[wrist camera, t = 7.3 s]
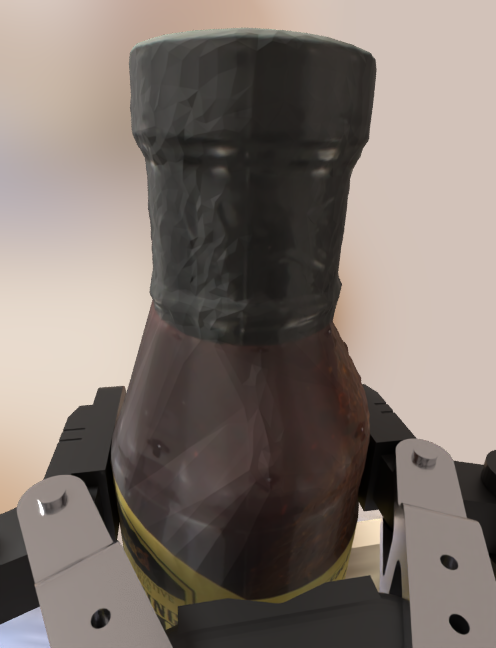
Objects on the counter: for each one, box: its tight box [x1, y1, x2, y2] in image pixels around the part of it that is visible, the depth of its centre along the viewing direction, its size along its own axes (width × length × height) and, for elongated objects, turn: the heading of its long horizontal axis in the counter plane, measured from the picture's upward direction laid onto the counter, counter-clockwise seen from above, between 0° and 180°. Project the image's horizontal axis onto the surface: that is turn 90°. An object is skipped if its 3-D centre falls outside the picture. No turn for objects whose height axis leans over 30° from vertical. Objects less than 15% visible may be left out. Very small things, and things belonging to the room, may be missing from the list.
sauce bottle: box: [110, 28, 376, 631], centre depth 11 cm, size 6×6×20 cm
